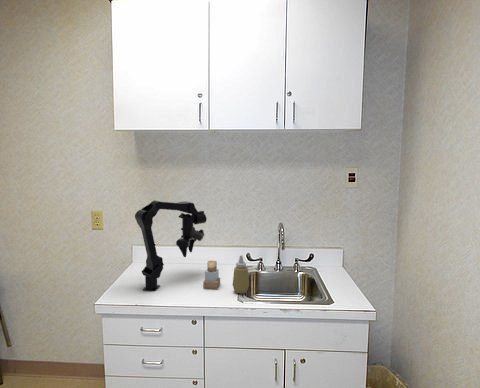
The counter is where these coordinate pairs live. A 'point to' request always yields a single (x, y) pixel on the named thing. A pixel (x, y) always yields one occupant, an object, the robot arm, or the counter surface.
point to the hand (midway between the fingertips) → (187, 254)
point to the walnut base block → (211, 284)
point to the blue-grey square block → (211, 275)
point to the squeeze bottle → (240, 277)
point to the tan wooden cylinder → (212, 266)
